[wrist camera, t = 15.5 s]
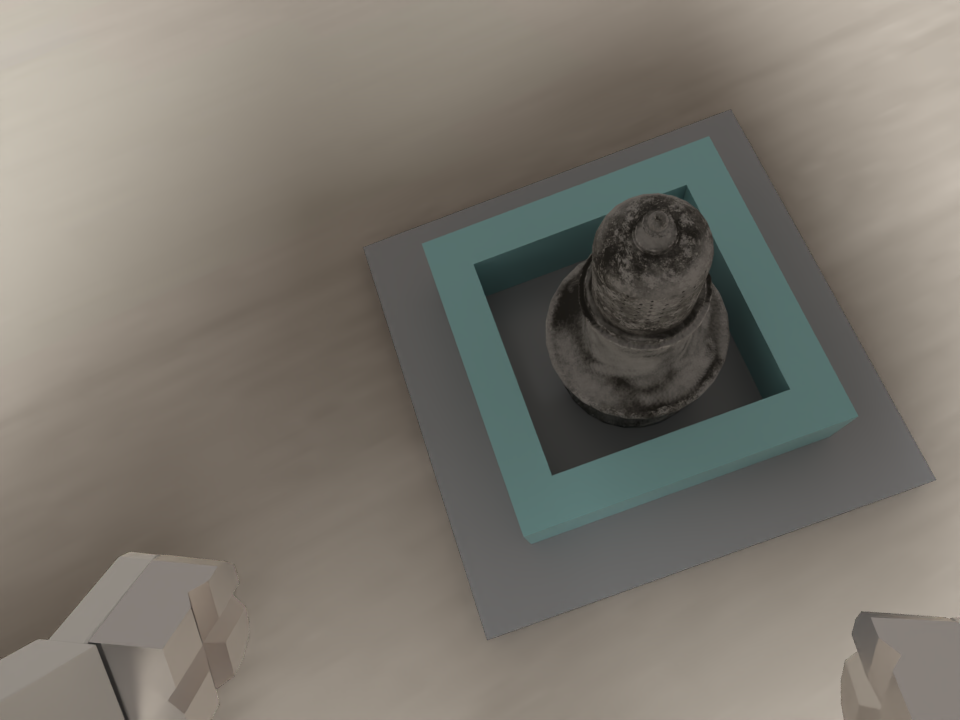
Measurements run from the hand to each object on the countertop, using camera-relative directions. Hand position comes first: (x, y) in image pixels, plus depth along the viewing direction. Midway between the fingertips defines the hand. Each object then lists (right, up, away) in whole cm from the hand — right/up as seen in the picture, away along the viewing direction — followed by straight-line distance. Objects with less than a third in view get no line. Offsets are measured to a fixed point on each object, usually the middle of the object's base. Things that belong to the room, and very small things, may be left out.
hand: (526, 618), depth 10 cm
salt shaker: (+5, +3, +18) cm, 19 cm away
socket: (+5, +3, +19) cm, 20 cm away
